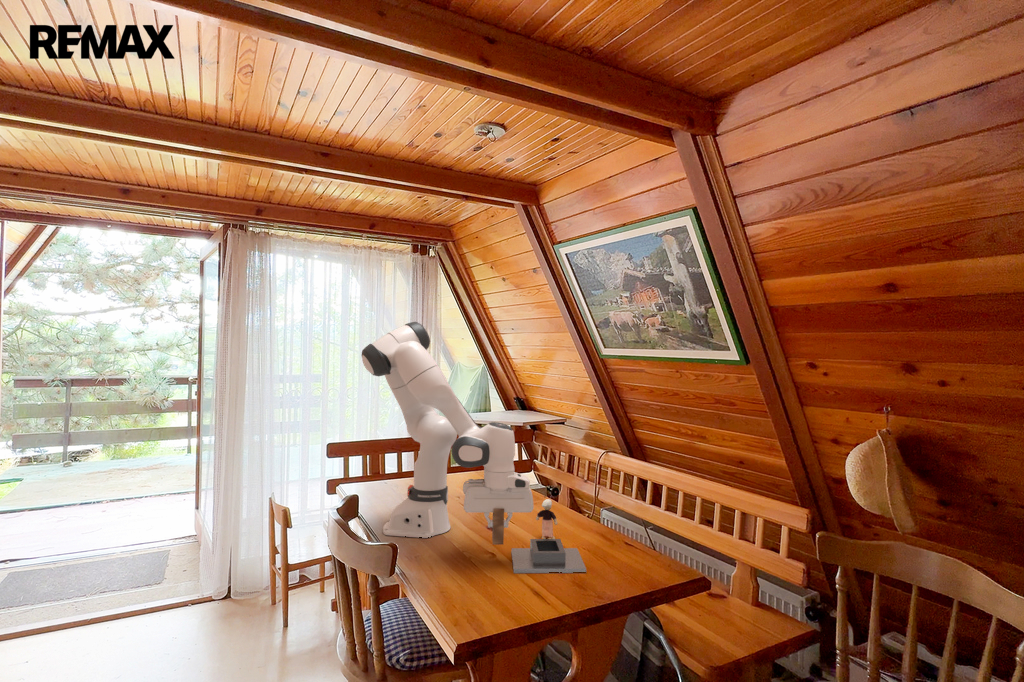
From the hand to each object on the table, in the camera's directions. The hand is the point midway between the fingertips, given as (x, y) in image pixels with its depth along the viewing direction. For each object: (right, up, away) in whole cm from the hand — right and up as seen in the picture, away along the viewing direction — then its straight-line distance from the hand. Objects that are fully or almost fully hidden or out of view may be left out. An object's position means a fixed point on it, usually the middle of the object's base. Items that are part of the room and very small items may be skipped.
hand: (498, 527), depth 155 cm
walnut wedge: (0, -4, 0) cm, 4 cm away
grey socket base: (+14, -10, 0) cm, 17 cm away
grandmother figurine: (+15, -11, +19) cm, 27 cm away
